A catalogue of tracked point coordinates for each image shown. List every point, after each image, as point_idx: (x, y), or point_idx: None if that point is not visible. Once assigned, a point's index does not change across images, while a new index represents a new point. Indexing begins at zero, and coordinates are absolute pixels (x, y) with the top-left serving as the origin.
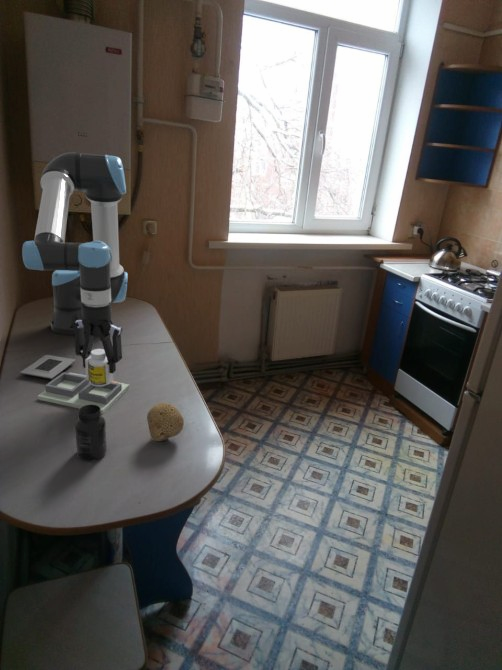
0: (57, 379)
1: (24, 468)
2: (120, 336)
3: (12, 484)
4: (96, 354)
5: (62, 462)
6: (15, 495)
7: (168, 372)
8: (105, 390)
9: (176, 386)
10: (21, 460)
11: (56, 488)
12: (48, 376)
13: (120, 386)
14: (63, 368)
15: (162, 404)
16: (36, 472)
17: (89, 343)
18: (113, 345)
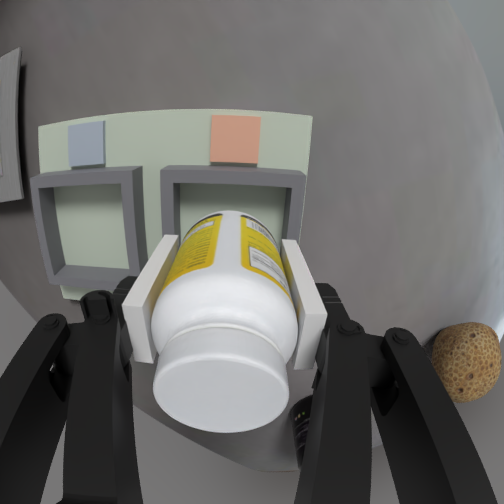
0: (45, 230)
1: (227, 443)
2: (490, 500)
3: (234, 457)
4: (233, 431)
5: (277, 429)
6: (251, 462)
7: None
8: (234, 194)
9: (454, 78)
10: (210, 436)
11: (295, 451)
12: (10, 195)
13: (303, 184)
14: (13, 122)
15: (482, 388)
16: (250, 445)
17: (134, 469)
18: (402, 489)
